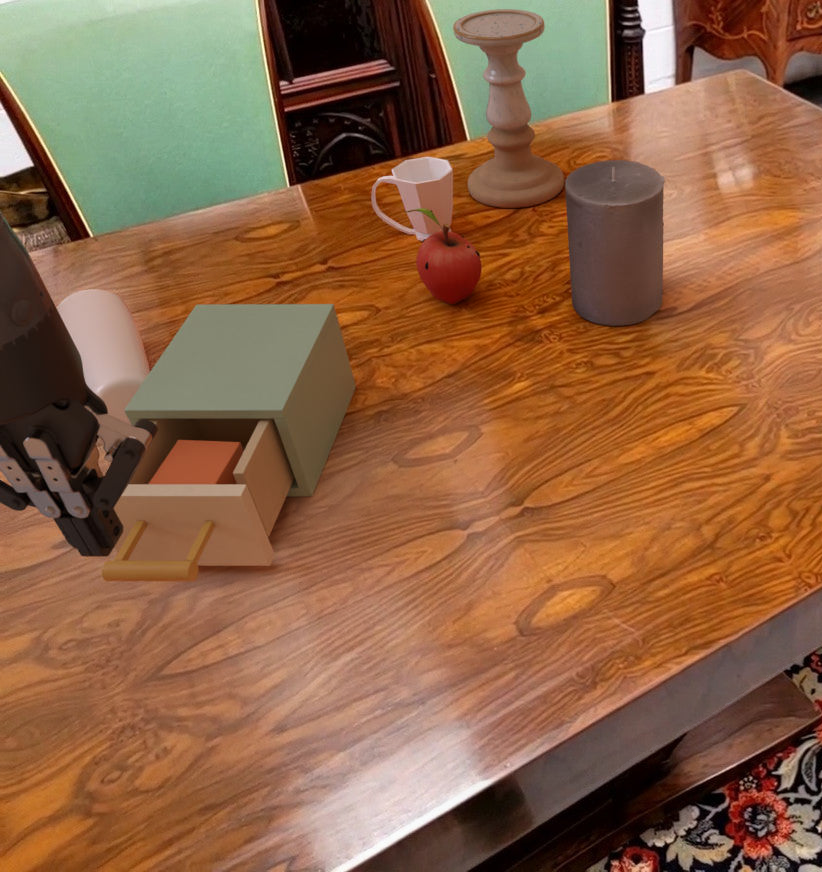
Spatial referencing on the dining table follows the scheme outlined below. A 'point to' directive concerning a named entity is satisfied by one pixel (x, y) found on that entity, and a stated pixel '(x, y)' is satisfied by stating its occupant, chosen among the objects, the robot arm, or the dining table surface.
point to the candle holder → (508, 113)
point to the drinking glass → (106, 346)
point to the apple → (448, 264)
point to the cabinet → (257, 377)
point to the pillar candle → (615, 241)
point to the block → (200, 463)
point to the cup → (421, 194)
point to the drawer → (201, 505)
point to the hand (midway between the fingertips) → (102, 546)
